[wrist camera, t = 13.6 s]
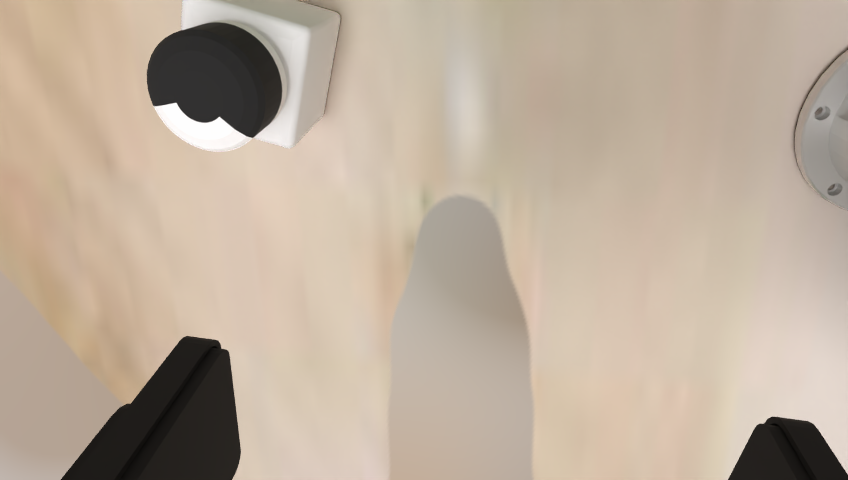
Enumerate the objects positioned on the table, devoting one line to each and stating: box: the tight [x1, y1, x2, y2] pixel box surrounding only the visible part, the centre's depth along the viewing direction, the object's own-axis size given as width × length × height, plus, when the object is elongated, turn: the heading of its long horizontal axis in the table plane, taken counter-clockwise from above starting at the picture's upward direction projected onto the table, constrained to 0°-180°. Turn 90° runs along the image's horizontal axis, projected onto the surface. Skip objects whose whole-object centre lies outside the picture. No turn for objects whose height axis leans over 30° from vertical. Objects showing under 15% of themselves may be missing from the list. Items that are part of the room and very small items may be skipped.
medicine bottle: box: [147, 0, 341, 152], centre depth 32 cm, size 7×7×12 cm
